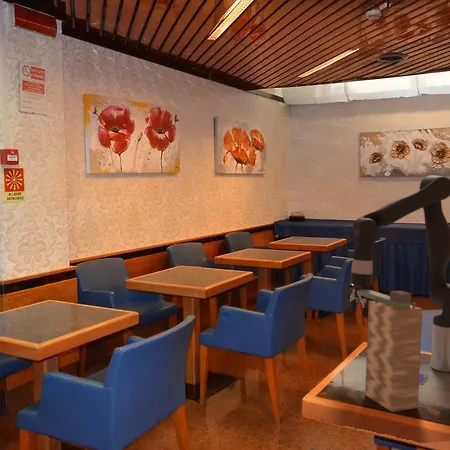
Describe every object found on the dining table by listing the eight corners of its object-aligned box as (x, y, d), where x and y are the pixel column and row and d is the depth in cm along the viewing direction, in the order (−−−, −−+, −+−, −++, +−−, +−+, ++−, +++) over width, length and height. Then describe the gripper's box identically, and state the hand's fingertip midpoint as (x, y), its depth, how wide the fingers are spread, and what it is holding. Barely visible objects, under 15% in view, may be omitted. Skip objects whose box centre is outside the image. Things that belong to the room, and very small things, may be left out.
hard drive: (428, 374, 192) (394, 367, 199) (422, 381, 185) (387, 374, 192) (427, 378, 192) (394, 371, 199) (422, 385, 185) (387, 378, 192)
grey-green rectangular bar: (358, 294, 183) (359, 281, 182) (368, 294, 184) (369, 281, 184) (399, 308, 162) (400, 294, 162) (410, 308, 163) (411, 293, 163)
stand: (365, 394, 175) (368, 296, 172) (389, 391, 178) (393, 295, 176) (391, 411, 162) (396, 306, 159) (417, 407, 165) (422, 304, 162)
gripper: (381, 275, 187) (378, 319, 188) (360, 268, 200) (357, 310, 201) (363, 275, 184) (360, 319, 185) (343, 268, 198) (340, 310, 199)
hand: (359, 314), depth 193 cm, fingers open, 8 cm apart
